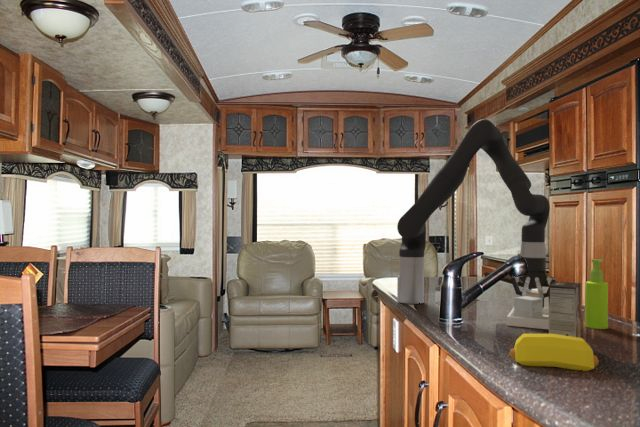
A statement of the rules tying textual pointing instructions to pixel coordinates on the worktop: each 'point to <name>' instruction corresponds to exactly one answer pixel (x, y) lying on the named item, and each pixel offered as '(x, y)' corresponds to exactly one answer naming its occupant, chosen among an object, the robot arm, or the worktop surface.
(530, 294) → the beech block
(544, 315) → the tray
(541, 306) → the product box
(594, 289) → the soap dispenser
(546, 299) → the medicine bottle
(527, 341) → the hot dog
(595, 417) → the worktop surface
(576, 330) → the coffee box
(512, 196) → the robot arm
